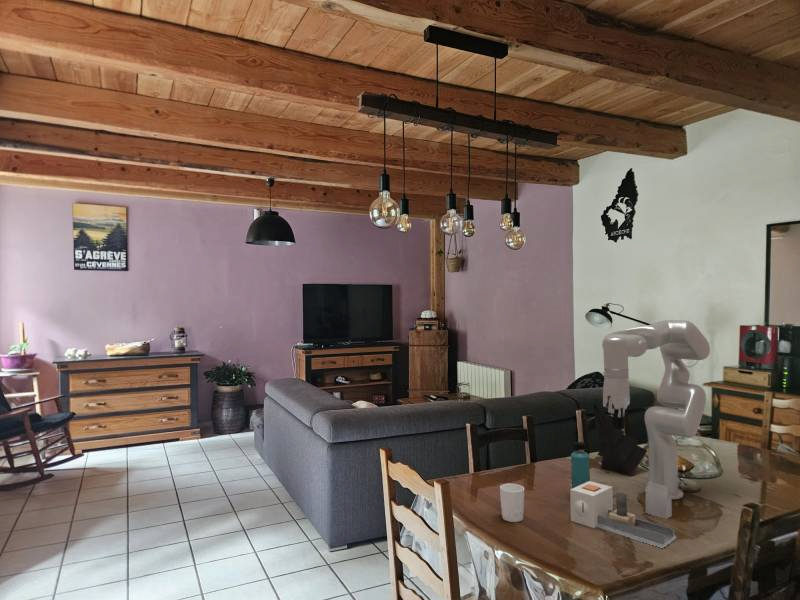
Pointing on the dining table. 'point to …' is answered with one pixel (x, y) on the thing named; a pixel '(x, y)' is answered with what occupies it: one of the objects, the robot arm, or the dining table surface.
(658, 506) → the light grey block
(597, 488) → the button
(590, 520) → the gauge cabinet
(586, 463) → the beverage bottle
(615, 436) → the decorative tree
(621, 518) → the carriage
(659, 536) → the rail
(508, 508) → the white cup
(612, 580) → the dining table surface
